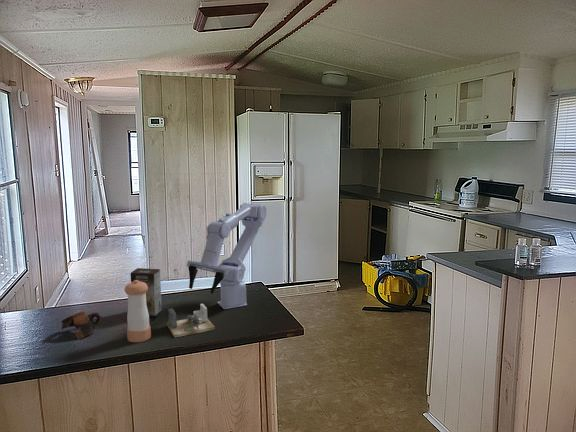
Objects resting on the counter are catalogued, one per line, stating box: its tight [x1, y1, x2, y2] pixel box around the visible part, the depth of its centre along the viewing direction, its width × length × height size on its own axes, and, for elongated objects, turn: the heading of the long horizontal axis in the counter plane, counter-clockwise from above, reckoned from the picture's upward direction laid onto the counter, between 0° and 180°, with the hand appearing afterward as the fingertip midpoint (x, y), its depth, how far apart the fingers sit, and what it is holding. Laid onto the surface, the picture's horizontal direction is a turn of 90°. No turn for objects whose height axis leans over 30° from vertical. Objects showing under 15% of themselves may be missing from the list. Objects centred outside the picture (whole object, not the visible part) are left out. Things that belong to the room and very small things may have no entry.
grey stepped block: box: [186, 303, 208, 323], centre depth 150 cm, size 6×7×5 cm
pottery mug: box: [61, 311, 102, 340], centre depth 145 cm, size 12×10×8 cm
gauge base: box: [166, 317, 216, 339], centre depth 148 cm, size 14×11×2 cm
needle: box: [193, 318, 199, 325], centre depth 146 cm, size 1×4×2 cm, turn 27°
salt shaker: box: [124, 280, 152, 343], centre depth 139 cm, size 7×7×19 cm
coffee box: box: [130, 267, 162, 317], centre depth 161 cm, size 9×6×16 cm
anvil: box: [167, 307, 178, 329], centre depth 147 cm, size 2×6×5 cm, turn 27°
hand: (201, 290), depth 151 cm, fingers open, 7 cm apart
